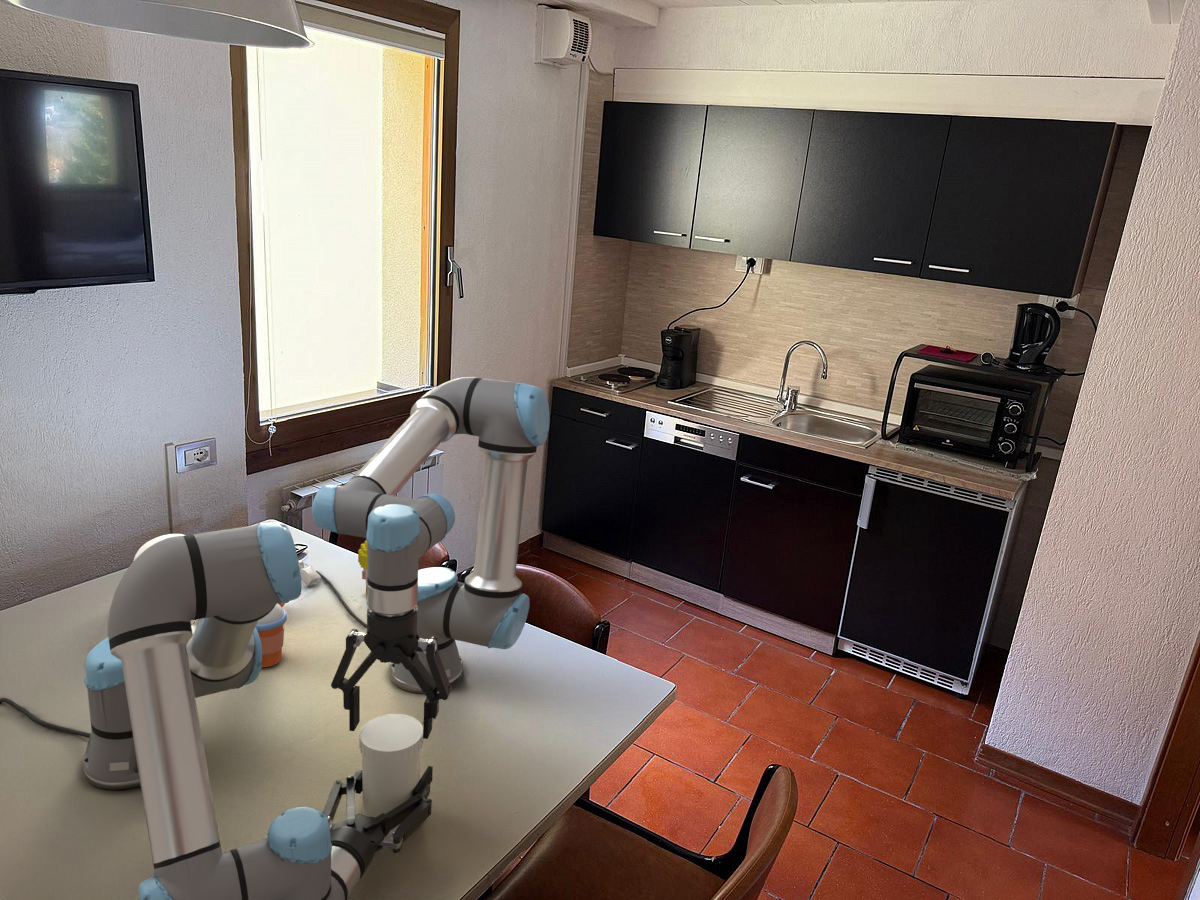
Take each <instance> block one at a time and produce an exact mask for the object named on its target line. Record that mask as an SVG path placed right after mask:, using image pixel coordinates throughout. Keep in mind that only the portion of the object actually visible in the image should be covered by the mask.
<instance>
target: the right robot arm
mask: <svg viewBox="0 0 1200 900" xmlns="http://www.w3.org/2000/svg"><path fill="white" fill-rule="evenodd" d="M409 412H410V414H409V417H408V418H407V419H405V421H404V422H403V423H402V424H401V425H400V427H398V428H397V430H396V431H394V433H393V434H392V435H391V436H390V437H389V438H388V439H387V440H386V441H385V442H384V443H383V445H381V447H379V448H378V450H377V451H376V452H375V453H374V454H373V455H372V456H371V457H370V458H369V459H368V460H367V461H366V462H365V463H364V464H363V466H362V467H360V469H359V470H358V471H357V472H356V473H355V474H354V475H353V476H352V477H351V478H350V479H349V480H348V481H347V482H346V483H345V484H344V485H340V484H326V485H323V486H321V487H320V488H319V489H318V491H317V492H316V494H315V496H314V499H313V500H312V506H311V514H312V521H313V523H314V524H315V526H317V528H319V529H322V530H325V531H328V532H332V533H335V534H337V535H346V536H351V537H352V536H353V537H357V538H364V539H365V541H367V570H368V575H367V595H366V606H367V609H366V623H365V622H364V621H363V620H362V619H360V618H359V617H358V616H357V615H356V614H355V613H354V612H353V611H352V610H351V609H350V607H349V606H348V605H347V604H346V602H345V601H344V599H343V597H342V596H341V594H340V593H339V592H338V589H336V587H335V586H334V585H333V583H332V582H331V581H330V580H329V579H328V578H327V577H326V576H325V575H323V574H322V573H321V572H320V571H318V570H315V571H316V572H317V573H318V574H319V575H320V576H321V577H320V579H322V580H323V581H324V582H325V583H326V584H327V585H328V586H329V587H330V589H331V590H332V592H333V593H334V594H335V595H336V597H337V598H338V600H339V602H340V604H341V606H343V607H344V609H345V610H346V611H347V613H348V614H349V615H350V616H351V617H352V618H353V619H354V620H355V621H356V622H357V623H358V624H360V626H362V627H363V628H365V629H366V632H360V631H359V629H357V628H352V629H351V630H350V631H349V632H348V634H347V636H346V637H345V649H344V653H343V655H342V657H341V660H340V661H339V664H338V667H337V669H336V672H335V673H334V676H333V678H332V681H331V683H330V687H331V688H332V689H333V690H337V689H339V690H340V691H342V696H343V697H342V699H343V701H342V706H343V709H344V711H345V710H347V711H348V714H349V715H348V717H349V719H348V720H349V721H348V725H349V732H355V731H356V729H357V727H358V726H359V723H360V721H361V718H360V717H361V709H360V707H361V706H360V705H361V703H360V702H361V700H360V699H361V696H360V695H361V691H360V690H361V689H360V688H361V687H360V685H357V684H358V682H359V681H360V680H361V679H362V678H363V676H365V674H366V673H367V671H369V669H370V668H371V667H372V666H373V665H374V663H375V662H376V661H379V663H382V664H383V663H384V664H386V663H390V664H389V679H390V681H391V682H392V683H393V684H394V685H395V686H396V687H398V688H399V689H401V690H404V691H407V692H410V693H416V694H424V695H425V700H424V702H423V725H422V727H423V739H424V740H429V738H430V735H431V732H432V731H433V720H436V719H437V716H438V714H439V713H440V701H441V700H442V701H446V700H448V698H449V696H450V694H451V692H452V687H453V686H455V685H456V684H457V683H458V682H459V681H460V680H461V679H462V676H463V672H464V662H463V660H462V657H461V656H460V653H459V649H458V646H457V642H456V641H459V642H463V643H469V644H473V645H478V646H482V647H486V648H487V649H492V648H493V649H499V650H508V649H511V648H512V647H513V646H514V645H515V644H516V643H517V641H518V640H519V638H520V636H521V634H522V632H523V630H524V628H525V624H526V623H527V622H526V621H527V619H528V614H529V610H530V603H531V602H530V597H529V595H527V594H526V593H522V586H523V582H522V580H521V579H520V578H518V576H517V575H516V574H517V564H518V555H519V545H520V537H521V536H520V535H521V527H522V519H523V518H522V516H523V508H524V498H525V489H526V482H527V481H526V480H527V471H528V462H529V460H530V459H531V458H532V457H534V456H535V455H536V454H537V448H538V447H539V446H543V445H544V444H545V443H546V441H547V439H548V432H549V431H550V421H551V420H550V406H549V402H548V398H547V395H546V394H545V392H544V390H543V389H542V388H541V387H539V386H536V385H532V384H528V383H524V382H517V381H508V380H501V379H500V380H499V379H492V378H491V379H490V378H485V377H480V376H479V377H478V376H462V377H457V378H455V379H451V380H448V381H445V382H443V383H441V384H439V385H438V386H435V387H434V388H432V389H430V390H429V391H427V392H425V394H423V395H422V396H420V397H419V399H418V400H416V402H415V403H414V404H413V405H412V406H411V409H410V411H409ZM455 435H469V436H474V437H478V443H477V447H478V448H477V449H478V450H480V452H481V453H482V454H483V456H484V460H483V471H482V480H481V488H480V498H479V499H480V500H479V502H480V503H479V511H478V519H477V530H476V541H475V551H474V560H473V570H472V572H470V573H469V574H468V575H467V576H465V578H464V582H463V581H458V580H459V578H458V575H457V572H456V571H454V570H453V569H451V568H448V567H441V566H433V567H426V568H421V569H419V563H420V558H421V557H422V556H424V555H425V554H426V553H427V552H428V551H429V550H431V549H433V547H434V546H436V545H437V544H438V543H440V542H442V541H443V540H444V539H445V538H446V536H447V535H448V534H449V532H451V530H452V529H453V527H454V526H455V521H456V513H455V509H454V507H453V505H452V504H451V502H450V501H449V500H448V499H447V498H446V497H444V496H443V495H441V494H437V493H426V494H424V495H421V496H419V497H417V498H415V499H414V498H410V497H404V496H397V495H398V494H399V492H400V491H401V490H402V488H404V486H405V485H406V484H407V483H408V481H409V480H411V478H412V477H413V476H414V474H415V473H416V472H417V471H418V470H419V469H420V468H421V466H422V465H423V464H424V463H425V461H427V459H428V458H429V457H430V456H431V455H432V454H433V452H434V451H435V450H437V448H438V446H439V445H440V444H443V443H446V442H448V441H450V440H451V439H452V438H453V437H454V436H455ZM362 643H364V644H365V645H366V647H367V648H368V649H369V651H370V652H369V654H368V655H367V656H366V657H365V658H364V659H363V661H362V662H361V663H360V664H359V666H358V667H357V668H356V670H354V672H353V673H352V674H351V676H350V677H349V678H347V677H345V676H346V674H347V672H348V669H349V668H350V665H351V662H352V660H353V658H354V655H355V653H356V650H357V648H358V647H360V646H361V644H362Z"/></svg>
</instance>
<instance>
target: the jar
mask: <svg viewBox="0 0 1200 900" xmlns="http://www.w3.org/2000/svg"><path fill="white" fill-rule="evenodd" d="M421 750H422V749H421ZM421 750H420V752H419V753H418V754H417V755H416V756H414V757H413V758H411V759H409V760H407V761H404V762H401V763H397V764H379V763H375V762H372V761H370V760H368V759H366V758H365V757H364V756H363V755H362V754H361V756H362V759H361V760H362V761H361V762H362V764H361V765H362V767H361V768H362V769H361V770H362V784H363V790H362V815H364V816H367V817H377V816H379V815H380V814H382V813H384V814H386V813H388V812H389V811H391V810H392V809H394V808H396V807H397V806H399V805H400V804H402V803H404V802H405V801H407V800H408V799H410V798H412V797H413V790H414V789H415V787H416V785H417V784H418V782H419V780H420V779H421ZM398 826H399V825H398ZM398 826H397V827H398ZM397 827H395V828H394V829H392V830H391V831H390V832H389V834H388V835H387V836H385V837H388V836H389V835H390V834H392V831H396V829H397Z"/></svg>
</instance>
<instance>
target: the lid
mask: <svg viewBox="0 0 1200 900" xmlns="http://www.w3.org/2000/svg"><path fill="white" fill-rule="evenodd" d="M424 740H425V739H423V725H422V723H421V722H420V721H419V720H418V719H417V718H416V717H413V716H411V715H408V714H403V713H387V714H383V715H379V716H376V717H374V718H372V719H370V720H368V721H367V722H366V723H364V724H363V726H362V728H361V729H360V732H359V738H358V741H359V744H358V746H359V747H358V748H359V751H360V754H361V756H362V755H363V756H364V757H365V758H366V759H368V760H370V761H372V762H375V763H379V764H397V763H401V762H404V761H407V760H409V759H411V758H413V757H414V756H416V755H417V754H418V753H419V752H420V750H422V749H423V745H424ZM420 753H421V752H420Z"/></svg>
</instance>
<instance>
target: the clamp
mask: <svg viewBox="0 0 1200 900" xmlns="http://www.w3.org/2000/svg"><path fill="white" fill-rule="evenodd" d="M298 562H299V568H300V574H301V582H303V584H304V585H305V587H309V586H312V585H314V584H316V583H318V582H319V580H320V579H321V576H320V575H319V574H318V573H317V572H316V571H317V570H315V569H314V568H313V566H312V565H310V564H309V565H308V564H307V563H305V562H304V561H303V560H301V559H300V560H299V559H298ZM305 566H306V567H305Z"/></svg>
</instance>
